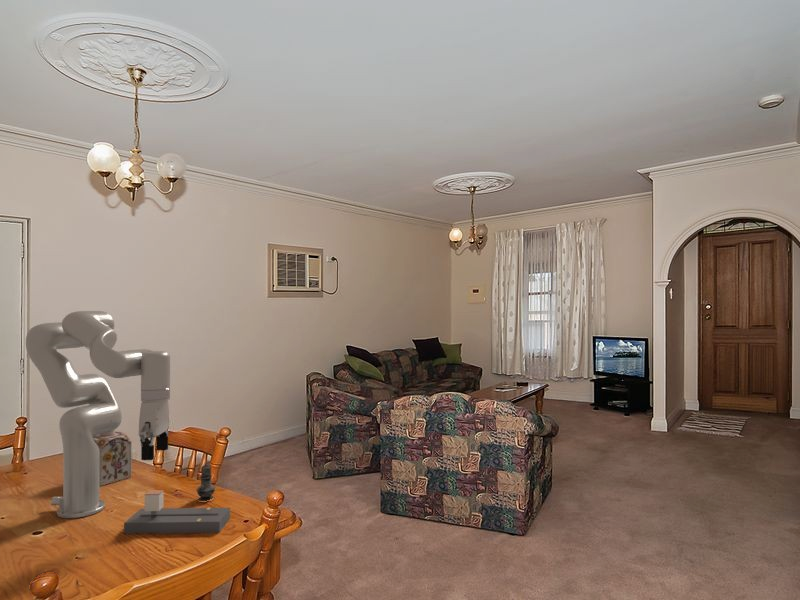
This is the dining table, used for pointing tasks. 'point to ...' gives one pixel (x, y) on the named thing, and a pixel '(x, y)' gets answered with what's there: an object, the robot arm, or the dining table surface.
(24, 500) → the dining table surface
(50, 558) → the dining table surface
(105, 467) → the decorative jar
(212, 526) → the console
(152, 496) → the fader
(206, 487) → the dark chess piece
